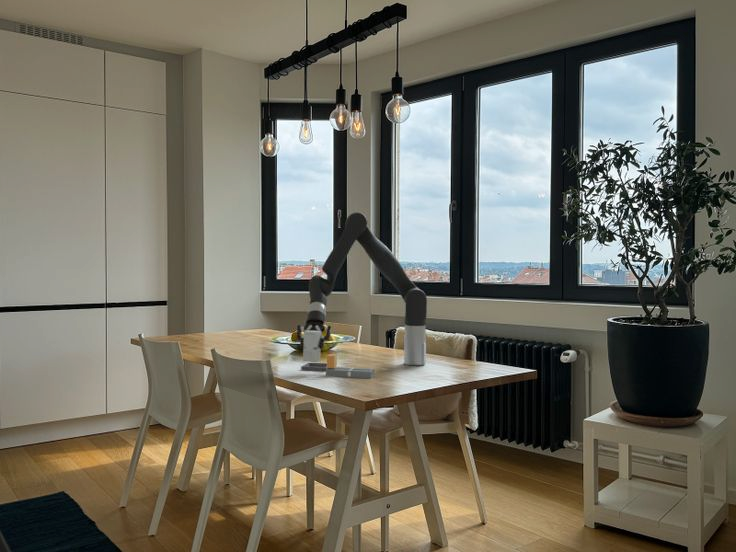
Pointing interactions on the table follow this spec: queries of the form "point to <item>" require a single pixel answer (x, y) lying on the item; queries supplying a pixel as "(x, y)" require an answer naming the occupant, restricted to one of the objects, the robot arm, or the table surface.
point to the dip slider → (332, 361)
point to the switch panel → (350, 372)
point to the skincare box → (311, 346)
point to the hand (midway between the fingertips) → (311, 347)
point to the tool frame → (315, 367)
